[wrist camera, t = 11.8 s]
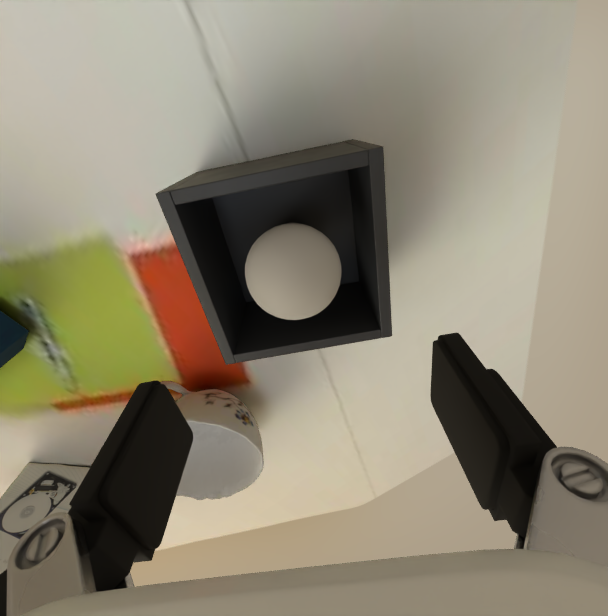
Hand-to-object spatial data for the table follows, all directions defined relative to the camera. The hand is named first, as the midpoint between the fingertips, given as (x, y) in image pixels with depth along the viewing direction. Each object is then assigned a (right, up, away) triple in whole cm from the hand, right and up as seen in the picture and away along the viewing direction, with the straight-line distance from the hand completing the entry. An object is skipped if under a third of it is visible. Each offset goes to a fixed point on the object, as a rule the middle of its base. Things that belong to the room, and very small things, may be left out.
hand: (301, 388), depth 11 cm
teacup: (-11, -8, +27) cm, 30 cm away
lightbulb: (-1, +9, +16) cm, 19 cm away
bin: (-1, +9, +17) cm, 19 cm away
